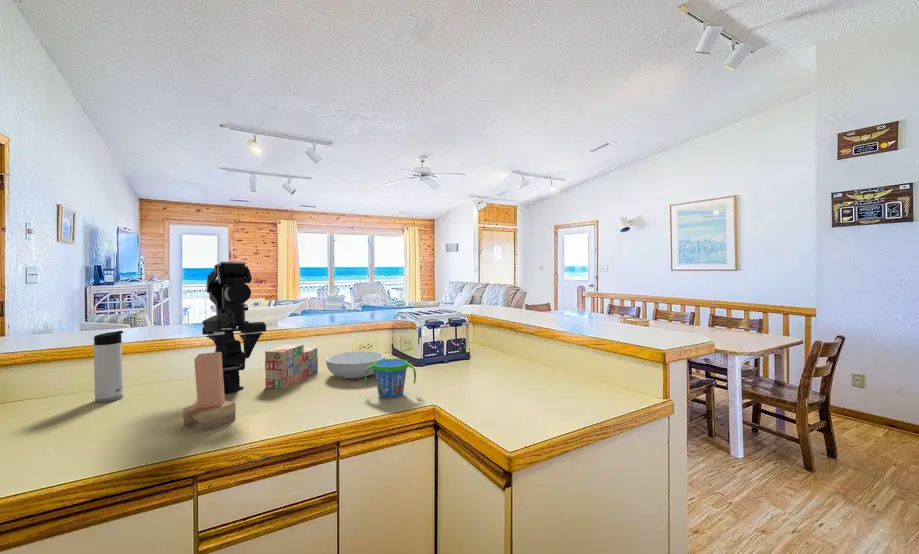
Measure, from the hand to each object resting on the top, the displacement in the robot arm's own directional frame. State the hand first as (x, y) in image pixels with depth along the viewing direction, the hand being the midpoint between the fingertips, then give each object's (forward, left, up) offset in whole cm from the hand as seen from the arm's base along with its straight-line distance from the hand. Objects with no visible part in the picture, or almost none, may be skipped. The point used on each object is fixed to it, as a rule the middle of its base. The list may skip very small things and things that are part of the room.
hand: (234, 358), depth 116 cm
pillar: (+8, -13, -8) cm, 17 cm away
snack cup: (+38, +24, -13) cm, 46 cm away
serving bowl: (+14, +38, -13) cm, 42 cm away
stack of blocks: (-3, +25, -13) cm, 28 cm away
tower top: (+8, -13, -11) cm, 19 cm away
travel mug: (-36, -13, -13) cm, 41 cm away
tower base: (+8, -13, -13) cm, 20 cm away
